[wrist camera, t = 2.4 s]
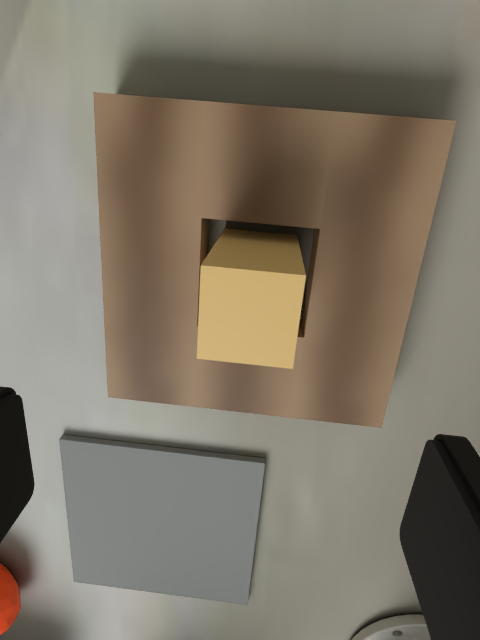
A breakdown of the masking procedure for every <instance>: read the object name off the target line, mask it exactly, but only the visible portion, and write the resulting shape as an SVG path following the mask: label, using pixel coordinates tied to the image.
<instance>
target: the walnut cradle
mask: <svg viewBox="0 0 480 640" xmlns="http://www.w3.org/2000/svg"><path fill="white" fill-rule="evenodd" d="M94 113H95V134H96V155H97V176H98V197H99V218H100V239H101V260H102V281H103V302H104V323H105V344H106V365H107V386H108V397H112V398H120V399H129V400H138V401H147V402H156V403H165V404H174V405H183V406H192V407H201V408H210V409H219V410H228V411H237V412H245V413H254V414H263V415H272V416H281V417H290V418H299V419H308V420H317V421H326V422H335V423H344V424H353V425H361V426H370V427H379V428H382V424H383V420H384V415H385V411H386V407H387V403H388V399H389V395H390V391H391V387H392V383H393V379H394V375H395V371H396V366H397V362H398V358H399V354H400V350H401V346H402V342H403V338H404V334H405V330H406V326H407V322H408V317H409V313H410V309H411V305H412V301H413V297H414V293H415V289H416V285H417V281H418V277H419V273H420V269H421V264H422V260H423V256H424V252H425V248H426V244H427V240H428V236H429V232H430V228H431V224H432V220H433V215H434V211H435V207H436V203H437V199H438V195H439V191H440V187H441V183H442V179H443V175H444V171H445V166H446V162H447V158H448V154H449V150H450V146H451V142H452V138H453V134H454V130H455V126H456V122H457V121H452V120H440V119H427V118H414V117H402V116H389V115H376V114H363V113H351V112H338V111H325V110H313V109H300V108H287V107H274V106H262V105H249V104H236V103H224V102H211V101H198V100H185V99H173V98H160V97H147V96H135V95H122V94H109V93H96V92H94ZM209 219H217V220H228V221H239V222H250V223H260V224H271V225H282V226H293V227H304V228H314V235H313V242H312V249H311V256H310V263H309V270H308V277H307V284H306V291H305V298H304V305H303V312H302V319H300V322H299V329H298V336H297V343H296V350H295V357H294V364H293V369H288V368H279V367H270V366H260V365H251V364H242V363H232V362H223V361H214V360H205V359H197V340H198V317H199V294H200V271H201V264H202V263H203V261H204V260H205V258H206V256H207V253H208V232H209Z"/></svg>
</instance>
